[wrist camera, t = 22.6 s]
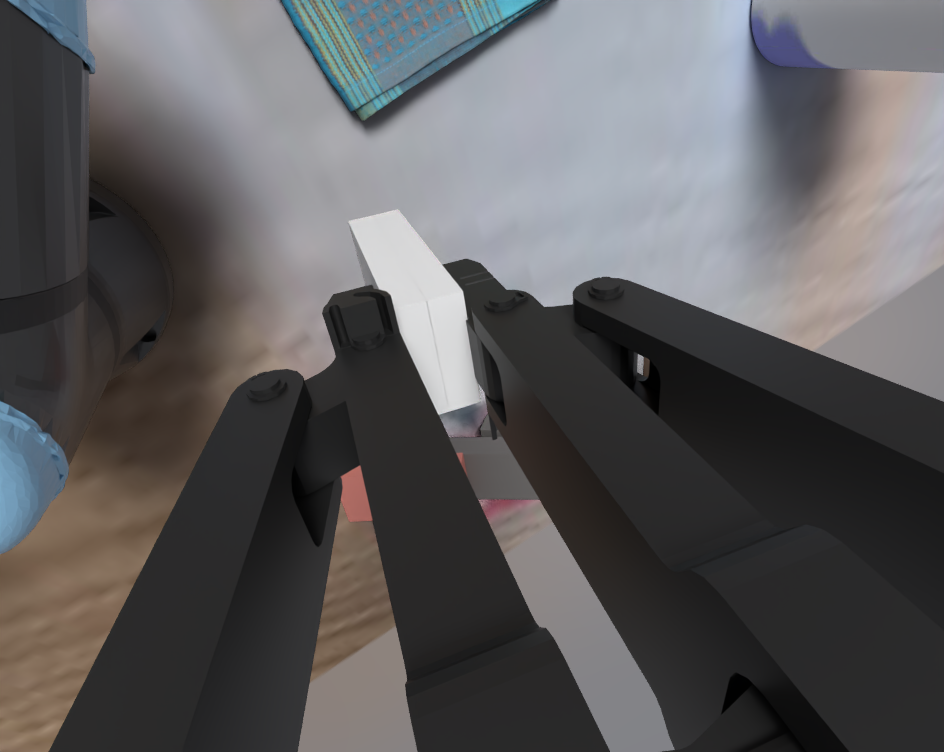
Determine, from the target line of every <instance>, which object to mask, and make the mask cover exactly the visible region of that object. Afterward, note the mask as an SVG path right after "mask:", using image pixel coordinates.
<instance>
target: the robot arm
mask: <svg viewBox="0 0 944 752" xmlns="http://www.w3.org/2000/svg"><path fill="white" fill-rule="evenodd" d="M94 73H95V59H94V56H93V54H92V53H91V51H90V50H89V49H88V31H87V10H86V0H0V554H2V553H5V552H7V551H9V550H11V549H12V548H13V547H15V546H16V545H17V544H19V543H20V542H21V541H22V540H23V539H24V538H25V537H26V536H27V535H28V534H29V533H30V532H31V531H32V530H33V528H34V527H35V526H36V525H37V523H38V522H39V520H40V519H41V517H42V515H43V514H44V512H45V511H46V509H47V507H48V506H49V504H50V503H51V501H52V500H54V499H55V498H56V497H57V495H58V494H59V493H60V492H61V491H62V490H63V488H64V486H65V480H66V479H67V477H68V473H69V465H70V463H71V461H72V458H73V456H74V454H75V452H76V450H77V448H78V446H79V443H80V441H81V439H82V437H83V435H84V433H85V430H86V428H87V426H88V424H89V422H90V420H91V418H92V415H93V413H94V411H95V409H96V407H97V405H98V402H99V400H100V398H101V396H102V394H103V392H104V390H105V387H106V385H107V383H108V381H110V380H112V379H113V378H115V377H117V376H119V375H120V374H122V373H124V372H126V371H127V370H129V369H130V368H132V367H134V366H135V365H136V364H137V363H139V362H140V361H141V360H142V359H143V358H144V357H145V356H146V355H147V354H148V353H149V352H150V351H151V350H152V349H153V347H154V346H155V345H156V343H157V342H158V340H159V339H160V337H161V335H162V333H163V331H164V329H165V326H166V323H167V321H168V318H169V315H170V312H171V309H172V304H173V295H174V286H173V277H172V272H171V268H170V264H169V261H168V259H167V256H166V254H165V251H164V249H163V247H162V245H161V244H160V242H159V240H158V239H157V237H156V235H155V234H154V232H153V231H152V230H151V228H150V227H149V226H148V225H147V223H146V222H145V221H144V220H143V219H142V218H141V217H140V216H139V214H138V213H137V212H136V211H134V210H133V209H132V208H131V207H130V206H129V205H128V204H127V203H125V202H124V201H123V200H122V199H121V198H119V197H118V196H116V195H115V194H114V193H112V192H111V191H109V190H108V189H106V188H105V187H103V186H101V185H99V184H98V183H96V182H94V181H92V180H90V179H89V74H94ZM348 222H349V226H350V230H351V233H352V237H353V241H354V244H355V248H356V252H357V256H358V259H359V263H360V267H361V270H362V274H363V278H364V281H365V285H366V286H364V287H360V288H357V289H353V290H349V291H345V292H341V293H337V294H333V296H332V297H331V299H330V300H329V302H328V304H327V305H326V306H325V307H324V309H323V313H322V314H323V317H324V320H325V323H326V326H327V329H328V332H329V335H330V338H331V341H332V344H333V347H334V350H335V355H336V358H335V360H334V361H333V362H332V364H331V365H330V366H329V367H327V368H326V369H325V370H324V371H322V372H321V373H319V374H317V375H315V376H313V377H311V378H309V379H307V380H305V381H304V378H303V376H302V375H301V374H299V373H298V372H297V371H293V370H289V369H284V370H273V371H269V372H263V373H260V374H257V376H256V375H255V376H253V377H251V378H249V379H248V380H247V381H246V382H244V383H243V384H241V385H240V386H239V387H237V389H236V390H235V391H234V392H233V394H232V395H231V396H230V398H229V400H228V402H227V404H226V406H225V408H224V410H223V412H222V414H221V416H220V418H219V420H218V422H217V424H216V426H215V428H214V430H213V432H212V434H211V436H210V437H209V439H208V441H207V443H206V445H205V447H204V449H203V451H202V453H201V455H200V457H199V459H198V461H197V463H196V465H195V467H194V469H193V471H192V473H191V475H190V477H189V479H188V480H187V482H186V484H185V486H184V488H183V490H182V492H181V494H180V496H179V498H178V500H177V502H176V504H175V506H174V508H173V510H172V512H171V514H170V516H169V518H168V520H167V522H166V523H165V525H164V527H163V529H162V531H161V533H160V535H159V537H158V539H157V541H156V543H155V545H154V547H153V549H152V551H151V553H150V555H149V557H148V559H147V561H146V563H145V565H144V566H143V568H142V570H141V572H140V574H139V576H138V578H137V580H136V582H135V584H134V586H133V588H132V590H131V592H130V594H129V596H128V598H127V600H126V602H125V604H124V606H123V608H122V609H121V611H120V613H119V615H118V617H117V619H116V621H115V623H114V625H113V627H112V629H111V631H110V633H109V635H108V637H107V639H106V641H105V643H104V645H103V647H102V649H101V651H100V652H99V654H98V656H97V658H96V660H95V662H94V664H93V666H92V668H91V670H90V672H89V674H88V676H87V678H86V680H85V682H84V684H83V686H82V688H81V690H80V692H79V694H78V695H77V697H76V699H75V701H74V703H73V705H72V707H71V709H70V711H69V713H68V715H67V717H66V719H65V721H64V723H63V725H62V727H61V729H60V731H59V733H58V735H57V737H56V738H55V740H54V742H53V744H52V746H51V748H50V750H49V752H297V751H298V746H299V740H300V734H301V728H302V723H303V716H304V711H305V705H306V699H307V693H308V687H309V682H310V676H311V670H312V664H313V659H314V653H315V647H316V641H317V635H318V629H319V624H320V618H321V612H322V606H323V600H324V594H325V589H326V583H327V577H328V571H329V565H330V560H331V554H332V548H333V542H334V536H335V530H336V525H337V519H338V513H339V507H340V501H341V495H342V490H343V485H342V479H341V476H342V475H344V474H346V473H348V472H349V471H351V470H353V469H355V468H356V467H358V466H360V467H361V471H362V476H363V480H364V484H365V489H366V493H367V498H368V502H369V507H370V511H371V516H372V520H373V525H374V529H375V534H376V538H377V543H378V547H379V552H380V556H381V561H382V565H383V569H384V574H385V578H386V583H387V587H388V592H389V596H390V601H391V605H392V610H393V614H394V619H395V623H396V628H397V632H398V637H399V641H400V645H401V650H402V654H403V659H404V664H405V669H406V674H407V682H406V684H405V687H406V696H407V702H408V707H409V713H410V717H411V723H412V727H413V732H414V737H415V741H416V746H417V751H418V752H610V751H609V749H608V746H607V744H606V742H605V740H604V739H603V736H602V734H601V732H600V730H599V728H598V726H597V724H596V722H595V720H594V718H593V716H592V714H591V712H590V710H589V707H588V706H587V703H586V701H585V699H584V697H583V695H582V693H581V691H580V689H579V687H578V685H577V683H576V681H575V679H574V677H573V675H572V673H571V671H570V669H569V667H568V664H567V662H566V660H565V658H564V656H563V654H562V653H561V651H560V649H559V648H558V645H557V643H556V642H555V640H554V638H553V637H552V635H551V634H550V633H549V631H548V630H547V629H546V628H541V627H539V626H538V625H537V623H536V622H535V620H534V618H533V616H532V614H531V612H530V610H529V608H528V606H527V604H526V602H525V600H524V598H523V595H522V593H521V591H520V589H519V587H518V585H517V582H516V580H515V578H514V576H513V574H512V572H511V570H510V568H509V565H508V563H507V561H506V559H505V557H504V555H503V552H502V550H501V548H500V546H499V544H498V542H497V540H496V537H495V535H494V533H493V531H492V529H491V527H490V525H489V522H488V520H487V518H486V516H485V514H484V512H483V510H482V507H481V505H480V503H479V501H478V499H477V497H476V495H475V492H474V490H473V488H472V486H471V484H470V482H469V480H468V477H467V475H466V473H465V471H464V469H463V467H462V465H461V462H460V460H459V458H458V456H457V454H456V452H455V449H454V447H453V445H452V443H451V441H450V439H449V437H448V434H447V432H446V430H445V428H444V426H443V424H442V422H441V419H440V417H439V415H440V414H443V413H446V412H449V411H453V410H456V409H459V408H462V407H466V406H469V405H472V404H475V403H479V402H481V398H480V392H479V386H478V383H479V384H480V386H481V388H482V389H483V391H484V392H485V398H486V404H487V410H488V417H489V423H490V429H491V435H492V440H496V439H497V433H496V432H497V430H499V432H500V434H501V435H502V437H503V439H504V441H505V442H506V444H507V446H508V447H509V449H510V451H511V452H512V454H513V456H514V457H515V459H516V461H517V462H518V464H519V466H520V467H521V469H522V471H523V473H524V474H525V476H526V478H527V479H528V481H529V483H530V484H531V486H532V488H533V489H534V491H535V493H536V494H537V496H538V498H539V500H540V501H541V503H542V505H543V506H544V508H545V510H546V511H547V513H548V515H549V516H550V518H551V520H552V521H553V523H554V525H555V526H556V528H557V530H558V532H559V533H560V535H561V537H562V538H563V540H564V542H565V543H566V545H567V547H568V548H569V550H570V552H571V553H572V555H573V557H574V558H575V560H576V562H577V563H578V565H579V567H580V569H581V570H582V572H583V574H584V575H585V577H586V579H587V580H588V582H589V584H590V585H591V587H592V589H593V591H594V592H595V594H596V596H597V597H598V599H599V601H600V602H601V604H602V606H603V607H604V609H605V611H606V612H607V614H608V616H609V617H610V619H611V621H612V623H613V624H614V626H615V628H616V629H617V631H618V632H619V634H620V636H621V638H622V639H623V641H624V643H625V644H626V646H627V648H628V650H629V651H630V653H631V655H632V656H633V658H634V660H635V661H636V663H637V664H638V666H639V668H640V670H641V671H642V673H643V675H644V676H645V678H646V680H647V682H648V683H649V685H650V687H651V689H652V690H653V692H654V694H655V696H656V698H657V700H658V703H659V705H660V708H661V710H662V714H663V717H664V720H665V724H666V727H667V730H668V734H669V736H670V739H671V741H672V744H673V746H674V748H675V750H672V751H663V752H944V402H943V401H940V400H937V399H935V398H932V397H930V396H927V395H924V394H922V393H919V392H917V391H914V390H911V389H909V388H906V387H904V386H901V385H898V384H896V383H893V382H891V381H888V380H886V379H883V378H880V377H878V376H875V375H872V374H870V373H867V372H864V371H862V370H859V369H857V368H854V367H852V366H849V365H847V364H844V363H841V362H839V361H836V360H834V359H831V358H828V357H826V356H823V355H821V354H818V353H815V352H813V351H810V350H808V349H805V348H802V347H800V346H797V345H795V344H792V343H789V342H787V341H784V340H782V339H779V338H776V337H774V336H771V335H769V334H766V333H764V332H761V331H758V330H756V329H753V328H751V327H748V326H745V325H743V324H740V323H738V322H735V321H732V320H730V319H727V318H725V317H722V316H719V315H717V314H714V313H712V312H709V311H706V310H704V309H701V308H699V307H696V306H693V305H691V304H688V303H686V302H683V301H680V300H678V299H675V298H673V297H670V296H667V295H665V294H662V293H660V292H657V291H654V290H652V289H649V288H647V287H644V286H641V285H639V284H636V283H634V282H631V281H628V280H624V279H620V278H610V277H601V278H600V277H599V278H594V279H592V280H590V281H587V282H584V283H582V284H580V285H579V286H577V287H576V288H575V290H574V291H573V305H564V306H555V307H543V306H542V305H541V304H540V303H539V302H538V301H537V300H536V299H535V298H534V297H533V296H532V295H530V294H528V293H526V292H524V291H519V290H506V289H505V288H504V287H503V286H502V285H501V284H500V283H499V282H498V281H497V280H496V279H495V278H493V276H492V275H491V274H490V273H489V272H488V271H487V269H486V268H485V267H484V266H483V265H482V264H481V263H478V262H475V261H472V260H469V259H463V260H459V261H455V262H451V263H447V264H444V265H442V264H441V263H440V262H439V260H438V259H437V258H436V257H435V255H434V254H433V253H432V251H431V250H430V249H429V248H428V246H427V245H426V244H425V243H424V241H423V240H422V239H421V238H420V236H419V235H418V234H417V233H416V231H415V230H414V229H413V228H412V226H411V225H410V224H409V223H408V221H407V220H406V219H405V217H404V216H403V215H402V214H401V212H400V211H399V210H394V211H389V212H385V213H381V214H377V215H372V216H368V217H364V218H360V219H355V220H351V221H348ZM638 354H639V355H641V356H643V357H645V358H647V359H648V360H650V364H649V375H648V377H646V376H643V375H641V374H639V373H637V359H638Z"/></svg>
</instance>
